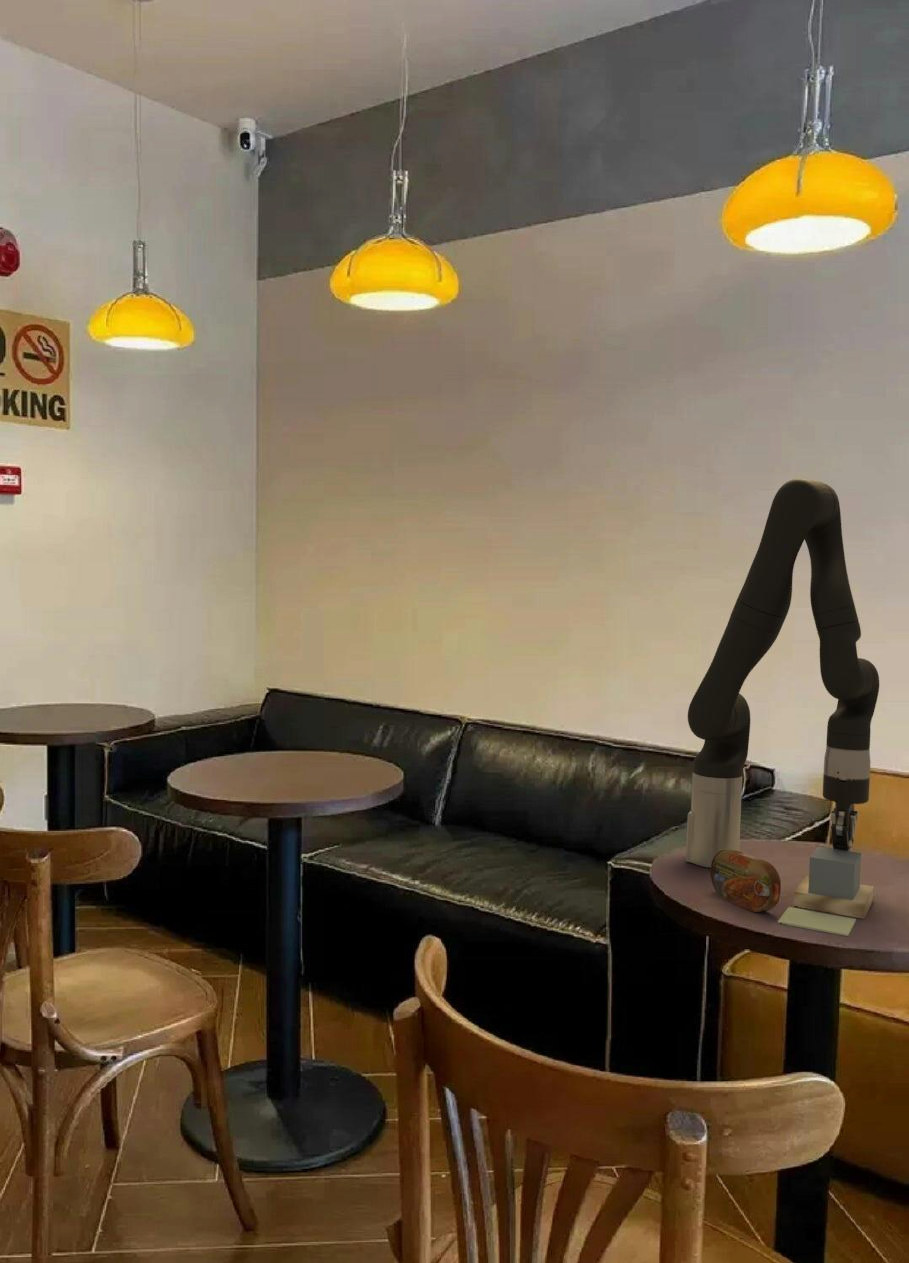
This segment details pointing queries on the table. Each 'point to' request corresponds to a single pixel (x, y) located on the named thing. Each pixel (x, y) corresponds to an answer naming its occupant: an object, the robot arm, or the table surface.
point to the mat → (817, 921)
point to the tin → (745, 880)
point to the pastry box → (834, 873)
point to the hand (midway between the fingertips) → (841, 871)
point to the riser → (835, 901)
